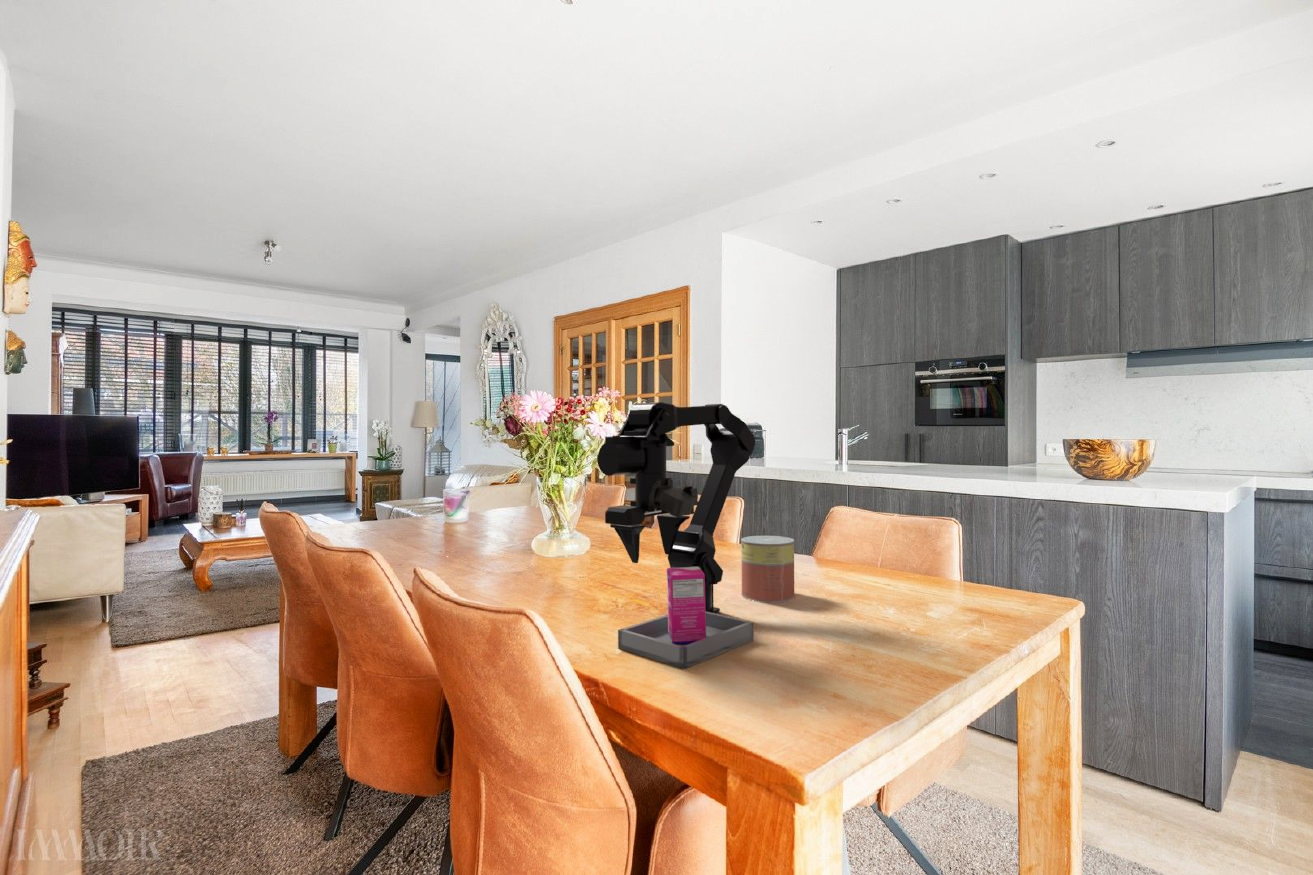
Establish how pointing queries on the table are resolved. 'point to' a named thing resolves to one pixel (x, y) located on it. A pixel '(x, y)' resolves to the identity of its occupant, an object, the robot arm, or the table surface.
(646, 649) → the tray
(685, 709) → the table surface
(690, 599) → the supplement box
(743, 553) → the canned food
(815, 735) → the table surface
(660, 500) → the robot arm
